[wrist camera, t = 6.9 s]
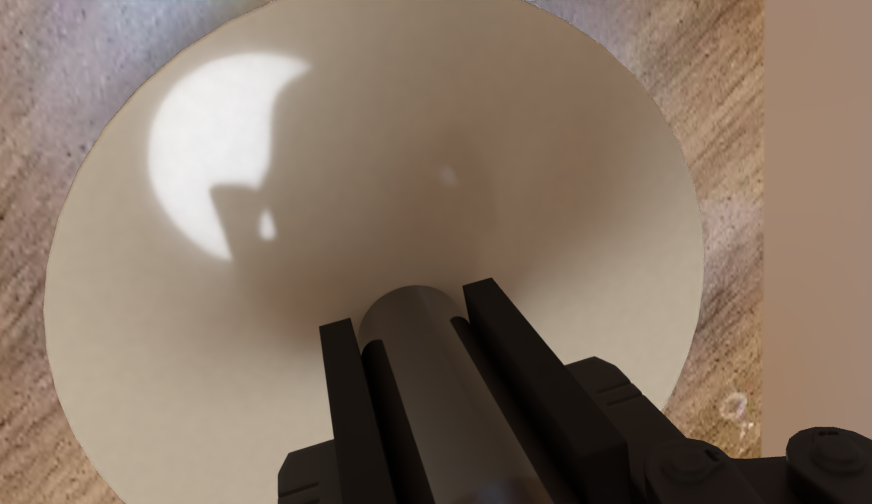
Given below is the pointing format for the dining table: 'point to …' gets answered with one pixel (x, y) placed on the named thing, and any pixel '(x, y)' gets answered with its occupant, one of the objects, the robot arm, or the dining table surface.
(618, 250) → the lid
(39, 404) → the dining table surface
